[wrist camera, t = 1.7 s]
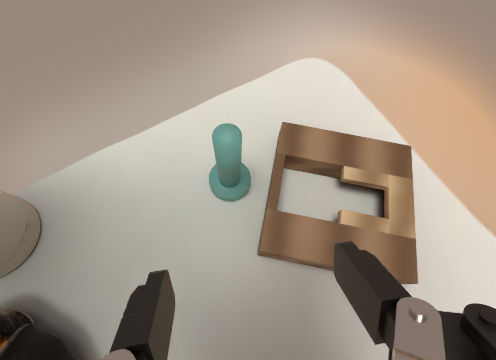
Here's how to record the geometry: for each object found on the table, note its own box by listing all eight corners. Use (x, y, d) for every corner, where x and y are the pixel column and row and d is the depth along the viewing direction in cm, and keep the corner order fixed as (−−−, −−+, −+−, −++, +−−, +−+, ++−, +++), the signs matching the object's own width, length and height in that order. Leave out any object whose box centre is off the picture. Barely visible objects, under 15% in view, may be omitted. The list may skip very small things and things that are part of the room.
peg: (205, 196, 32) (191, 155, 22) (215, 161, 34) (206, 107, 24) (245, 204, 32) (249, 166, 22) (253, 168, 34) (260, 118, 24)
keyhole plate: (257, 254, 30) (259, 250, 27) (278, 136, 36) (282, 121, 33) (397, 284, 29) (417, 283, 26) (395, 159, 35) (411, 146, 32)
